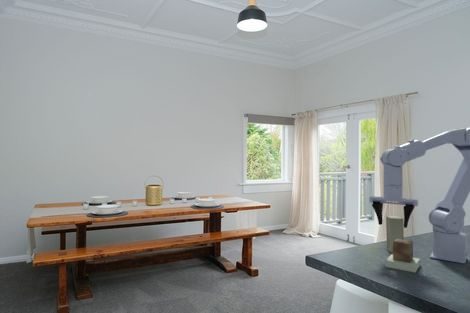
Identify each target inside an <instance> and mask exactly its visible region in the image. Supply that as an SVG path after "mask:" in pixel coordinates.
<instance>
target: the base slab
mask: <svg viewBox="0 0 470 313" xmlns="http://www.w3.org/2000/svg"><path fill="white" fill-rule="evenodd" d="M420 266H421V259H420V258H418V257H413V260H412V261H411V262H410V263H408V262H403V261H397V260H393V253H391V254H389V256H388V257H387V258H386V259H385V267H386V268H389V269H395V270H399V271H405V272H409V273H410V272H411V273H417V271H418V269H419V268H420Z"/></svg>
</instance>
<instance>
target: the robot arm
mask: <svg viewBox="0 0 470 313" xmlns="http://www.w3.org/2000/svg"><path fill="white" fill-rule="evenodd" d="M446 144H448V145H450V144H451V145H452V146H453V147H454V148H455V149H456V150H457V151H458V152H459V153H461V156H462V157H463V159H462V161H461V164H460V165H459V167H458V170H457V172H456V174H455V176H454V178H453V180H452V183H450V186H449V188H448V190H447V192H446V195H445V197H444V199H443V200H441V201H439V202H438V203H437V204H436V206H435V207H434V208H433V209H432V210H431V211H430V212H429V214H428V222H429V223H430V224H431V225H432V252H431V253H430V256H429V258H430V259H437V260H440V261H441V260H442V261H447V262H454V263H460V264H466V262H467V257H468V250H467V233H465V232H461V230H463V228H464V226H465V217H466V214H467V213H466V211H465V209H464V205H465V202H466V200H467V199H468V196H469V194H470V126H469V127H463V128H462V127H461V128H460V127H459V128H455V129H451V130H450V129H449V130H447V131H444V132H441V133H439V134H437V135H435V136H432V137H429V138H427V139H425V140H422V141H421V140H419V139H415V140H414V139H409V140H408V141H407V142H406V143H404V144H401V145H398V144H397V145H395V146H394V148H393V149H391V148H390V149H386V150H384V151H383V152H382V154H381V157H380V162H381V164H382V165H383V196H374V195H373V196H371V195H370V196H369V197H368V198H369V199H368V200H369V203H371V206H372V208H373V210H374V212H375V216H376V218H377V221H378V225H379V226H381V225H383V207H384V204H390V205H400V206H401V205H402V206H403V229H405V228H406V229H407V228H408V225H409V220H410V218H411V215H412V213H413V211H414V209H415V207H418V206H419V200H418V199H415V198H404V197H403V174H404V173H403V166H404V164H406V163H407V162H410V161H413V160H415V159H418V158H421V157H423V156H425V155H426V153H427V151H430V150H431V149H435V148H438V147H441V146H443V145H446Z"/></svg>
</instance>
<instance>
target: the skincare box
mask: <svg viewBox="0 0 470 313" xmlns="http://www.w3.org/2000/svg"><path fill="white" fill-rule="evenodd" d="M385 223H386V233H385V234H386V249H387V250H388V252H390V253H391V254H393V241H394V240H396V239H402V240H405V239H404V238H405V237H404V236H405V235H404V217H401V216H399V215H386V216H385Z"/></svg>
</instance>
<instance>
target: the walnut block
mask: <svg viewBox="0 0 470 313" xmlns="http://www.w3.org/2000/svg"><path fill="white" fill-rule="evenodd" d="M392 254H393V260H397V261H403V262H408V263H410V262H411V261H412V260H413V258H414V241H413V240H407V239H404V240H402V239H396V240H394V241H393V253H392Z"/></svg>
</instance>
